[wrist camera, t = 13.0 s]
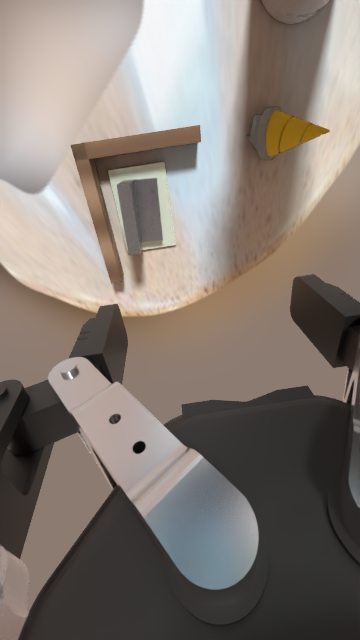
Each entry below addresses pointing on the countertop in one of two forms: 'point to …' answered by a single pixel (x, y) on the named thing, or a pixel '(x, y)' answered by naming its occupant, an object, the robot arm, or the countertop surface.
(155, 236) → the angle bracket
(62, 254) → the countertop surface
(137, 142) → the corner walls
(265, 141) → the yellow spiral cone
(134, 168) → the mat
